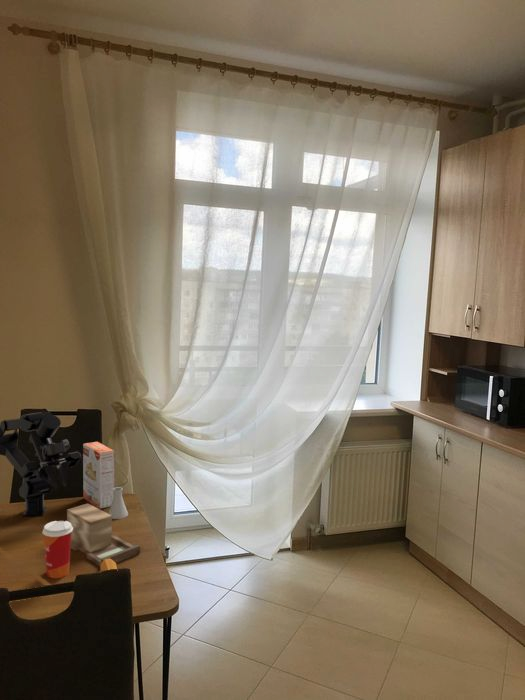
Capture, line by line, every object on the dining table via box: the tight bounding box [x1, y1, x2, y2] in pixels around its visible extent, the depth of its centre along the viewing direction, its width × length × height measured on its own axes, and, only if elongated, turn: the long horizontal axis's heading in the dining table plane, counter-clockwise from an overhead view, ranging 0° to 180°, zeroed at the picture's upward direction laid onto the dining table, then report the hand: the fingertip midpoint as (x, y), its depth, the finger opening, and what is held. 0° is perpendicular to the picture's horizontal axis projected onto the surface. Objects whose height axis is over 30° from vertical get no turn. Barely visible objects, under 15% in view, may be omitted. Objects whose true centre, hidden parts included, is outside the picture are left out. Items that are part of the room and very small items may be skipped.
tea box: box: [66, 503, 113, 552], centre depth 168 cm, size 13×7×9 cm, turn 49°
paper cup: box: [41, 520, 73, 579], centre depth 149 cm, size 8×8×14 cm
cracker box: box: [82, 441, 115, 510], centre depth 199 cm, size 14×6×21 cm, turn 41°
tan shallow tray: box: [71, 533, 141, 567], centre depth 166 cm, size 26×22×3 cm
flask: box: [108, 486, 129, 520], centre depth 189 cm, size 7×7×10 cm
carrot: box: [99, 559, 118, 571], centre depth 144 cm, size 20×4×4 cm, turn 26°
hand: (61, 486), depth 178 cm, fingers open, 3 cm apart
